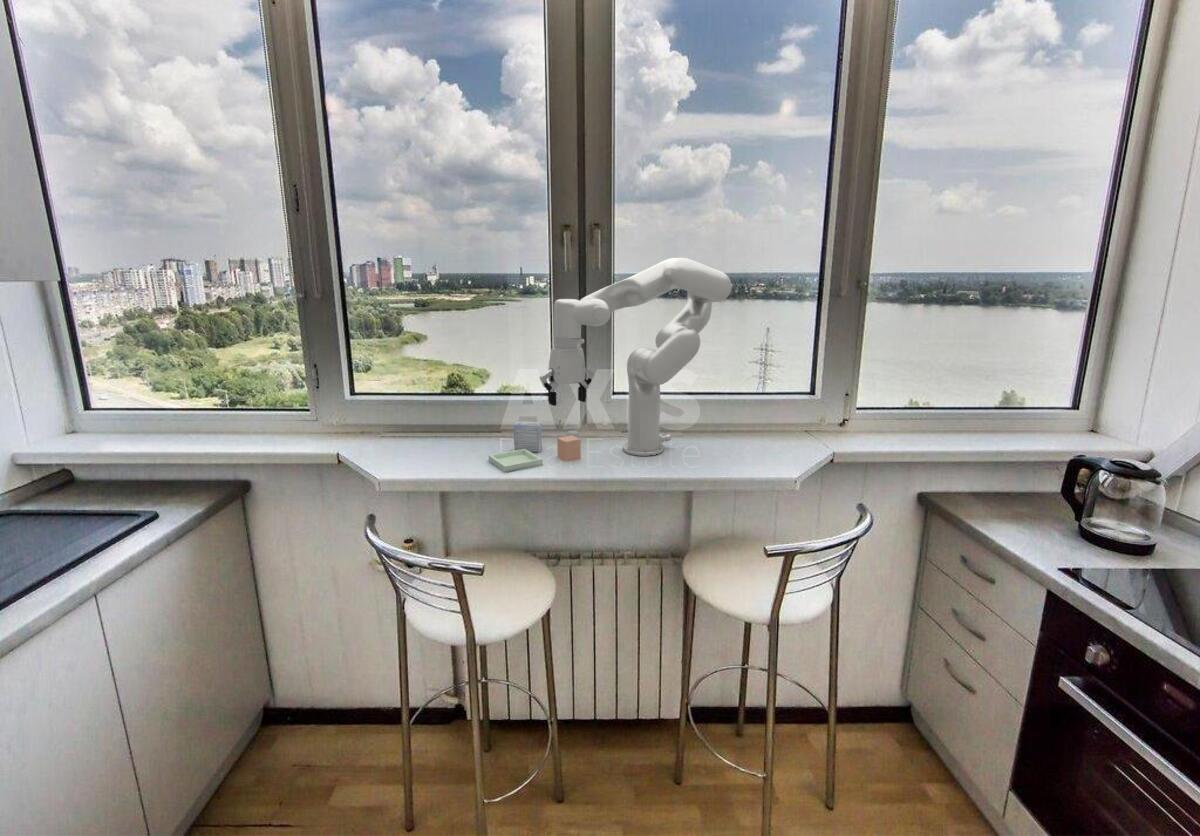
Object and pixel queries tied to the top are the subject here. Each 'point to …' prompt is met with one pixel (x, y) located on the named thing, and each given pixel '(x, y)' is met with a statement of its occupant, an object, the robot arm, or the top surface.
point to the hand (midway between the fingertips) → (567, 402)
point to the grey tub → (573, 433)
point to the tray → (515, 460)
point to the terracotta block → (569, 448)
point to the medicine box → (528, 436)
